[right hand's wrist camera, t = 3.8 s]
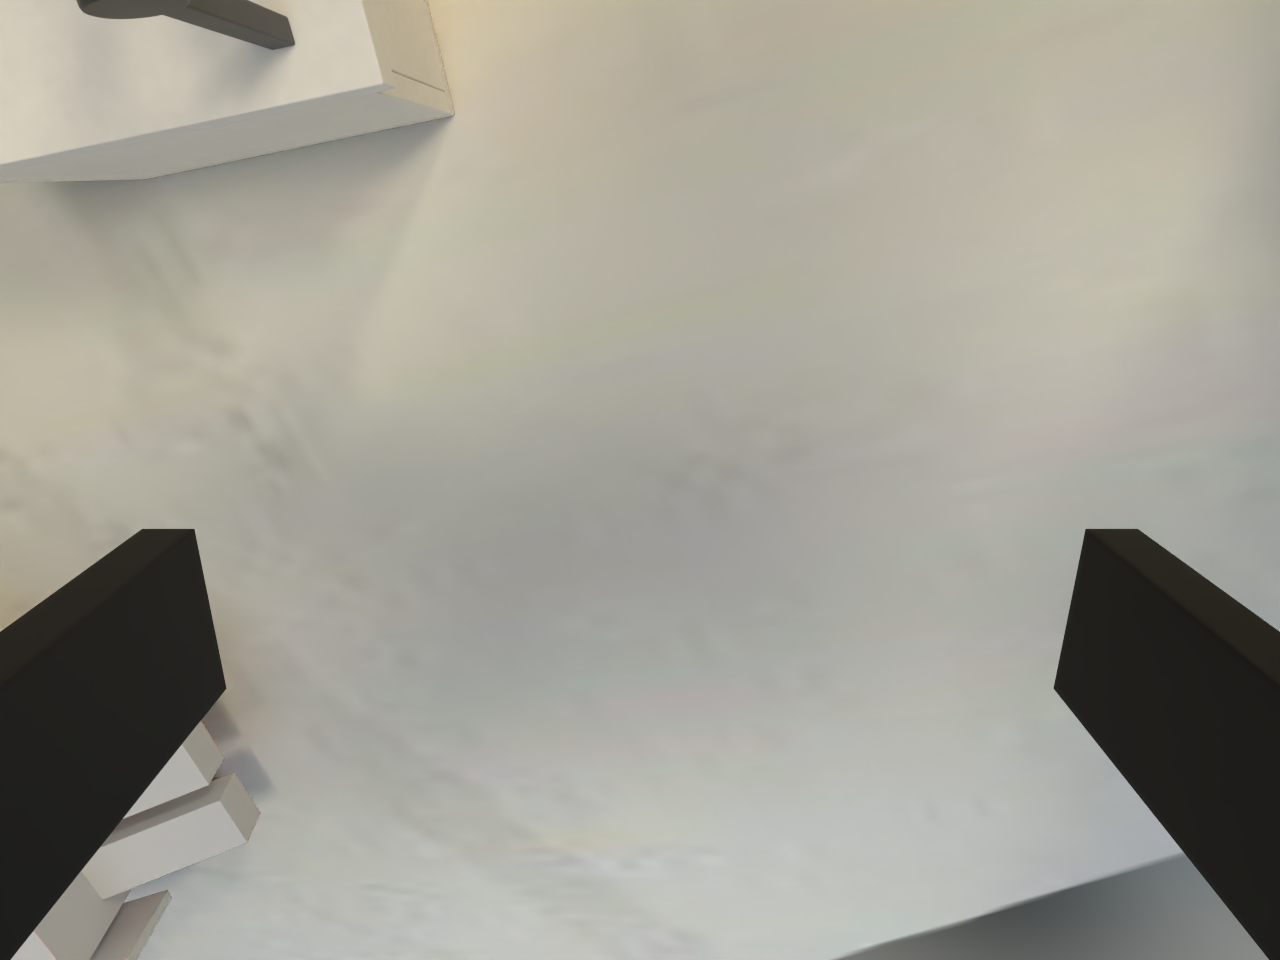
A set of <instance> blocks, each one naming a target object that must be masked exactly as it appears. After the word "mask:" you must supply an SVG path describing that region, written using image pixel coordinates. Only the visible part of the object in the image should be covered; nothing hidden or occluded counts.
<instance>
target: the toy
mask: <svg viewBox="0 0 1280 960" xmlns="http://www.w3.org/2000/svg"><path fill="white" fill-rule="evenodd" d="M223 759H224V755H223V754H222V752H221V751H220V749H219V748H218V746H217V745H216V743H215V742H214V740H213V738H212V737H211V735H210V734H209V732H208V731H207V729H206V728H205V726H204V725H203V723H202V721H200V722H199V723H198V725H197V726H196V727H195V728H194V730H193V731H192V732H191V734H190V735H189V736H188V737H187V739H186V740H185V741H184V742H183V744H182V745H181V746H180V747H179V749H178V750H177V751H176V752H175V754H174V755H173V756H172V757H171V759H170V760H169V761H168V762H167V764H166V765H165V766H164V767H163V769H162V770H161V771H160V772H159V774H158V775H157V776H156V778H155V779H154V780H153V781H152V783H151V784H150V785H149V786H148V788H147V789H146V790H145V791H144V793H143V794H142V795H141V796H140V798H139V799H138V800H137V801H136V803H135V804H134V805H133V806H132V808H131V809H130V810H129V811H128V813H127V814H126V815H125V817H124V818H123V819H122V820H121V822H120V823H119V824H118V825H117V827H116V828H115V829H114V830H113V832H112V833H111V834H110V835H109V837H108V838H107V839H106V840H105V842H104V843H103V844H102V845H101V847H100V848H99V849H98V850H97V852H96V853H95V854H94V856H93V857H92V858H91V859H90V861H89V862H88V863H87V864H86V866H85V867H84V868H83V869H82V871H81V872H80V873H79V874H78V876H77V877H76V878H75V879H74V881H73V882H72V883H71V884H70V886H69V887H68V888H67V889H66V891H65V892H64V893H63V895H62V896H61V897H60V898H59V900H58V901H57V902H56V903H55V905H54V906H53V907H52V908H51V910H50V911H49V912H48V913H47V915H46V916H45V917H44V918H43V920H42V921H41V922H40V923H39V925H38V926H37V927H36V928H35V930H34V931H33V932H32V934H31V935H30V936H29V937H28V939H27V940H26V941H25V942H24V944H23V945H22V946H21V947H20V949H19V950H18V951H17V952H16V954H15V955H14V956H13V957H12V959H11V960H137V958H138V957H139V955H140V953H141V951H142V950H143V948H144V946H145V944H146V943H147V941H148V939H149V937H150V936H151V934H152V932H153V930H154V929H155V927H156V925H157V923H158V922H159V920H160V918H161V917H162V915H163V913H164V911H165V910H166V908H167V906H168V904H169V903H170V901H171V899H172V897H171V895H170V893H169V891H168V890H166V891H162V892H159V893H156V894H152V895H149V896H146V897H143V898H139V899H136V900H133V901H129V902H126V903H123V902H124V901H125V899H126V897H127V896H128V894H129V892H130V891H131V889H132V888H134V887H136V886H139V885H142V884H144V883H147V882H149V881H152V880H154V879H157V878H159V877H162V876H164V875H167V874H169V873H172V872H174V871H177V870H179V869H182V868H184V867H187V866H189V865H192V864H194V863H197V862H199V861H202V860H205V859H207V858H210V857H212V856H215V855H217V854H220V853H222V852H225V851H227V850H230V849H232V848H235V847H237V846H240V845H242V844H245V843H247V842H248V840H249V838H250V836H251V833H252V831H253V829H254V827H255V824H256V822H257V820H258V818H259V815H260V811H259V810H258V808H257V806H256V805H255V803H254V802H253V800H252V799H251V797H250V796H249V794H248V793H247V791H246V789H245V788H244V786H243V785H242V783H241V782H240V780H239V779H238V777H237V776H236V774H235V772H234V773H231V774H229V775H226V776H224V777H221V778H219V779H216V780H214V781H213V780H212V779H213V777H214V775H215V773H216V772H217V770H218V768H219V766H220V765H221V763H222V761H223Z"/></svg>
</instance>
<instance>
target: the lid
mask: <svg viewBox="0 0 1280 960" xmlns="http://www.w3.org/2000/svg"><path fill="white" fill-rule="evenodd" d="M395 87H396V85H395V82H394V78H393V74H392V70H391V66H390V63H389V59H388V55H387V51H386V47H385V43H384V40H383V36H382V32H381V28H380V24H379V21H378V17H377V13H376V9H375V5H374V2H373V0H0V171H5V170H10V169H14V168H19V167H24V166H29V165H33V164H38V163H43V162H48V161H52V160H57V159H62V158H67V157H71V156H76V155H81V154H86V153H90V152H95V151H100V150H105V149H109V148H114V147H119V146H124V145H128V144H133V143H138V142H143V141H147V140H152V139H157V138H162V137H167V136H171V135H176V134H181V133H186V132H190V131H195V130H200V129H205V128H209V127H214V126H219V125H224V124H228V123H233V122H238V121H243V120H247V119H252V118H257V117H262V116H266V115H271V114H276V113H281V112H285V111H290V110H295V109H300V108H304V107H309V106H314V105H319V104H323V103H328V102H333V101H338V100H342V99H347V98H352V97H357V96H361V95H366V94H371V93H376V92H380V91H385V90H390V89H394V88H395Z"/></svg>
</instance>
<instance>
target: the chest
mask: <svg viewBox="0 0 1280 960" xmlns="http://www.w3.org/2000/svg"><path fill="white" fill-rule="evenodd" d="M373 2H374V5H375V9H376V13H377V17H378V21H379V24H380V28H381V32H382V36H383V40H384V43H385V47H386V51H387V55H388V59H389V63H390V66H391V70H392V74H393V78H394V82H395V85H396V87H395V88H394V89H390V90H385V91H380V92H376V93H371V94H366V95H361V96H357V97H352V98H347V99H342V100H338V101H333V102H328V103H323V104H319V105H314V106H309V107H304V108H300V109H295V110H290V111H285V112H281V113H276V114H271V115H266V116H262V117H257V118H252V119H247V120H243V121H238V122H233V123H228V124H224V125H219V126H214V127H209V128H205V129H200V130H195V131H190V132H186V133H181V134H176V135H171V136H167V137H162V138H157V139H152V140H147V141H143V142H138V143H133V144H128V145H124V146H119V147H114V148H109V149H105V150H100V151H95V152H90V153H86V154H81V155H76V156H71V157H67V158H62V159H57V160H52V161H48V162H43V163H38V164H33V165H29V166H24V167H19V168H14V169H10V170H5V171H0V183H5V182H49V181H92V180H135V179H150V178H155V177H160V176H164V175H169V174H174V173H179V172H184V171H188V170H193V169H198V168H203V167H208V166H213V165H217V164H222V163H227V162H232V161H237V160H242V159H246V158H251V157H256V156H261V155H266V154H271V153H275V152H280V151H285V150H290V149H295V148H299V147H304V146H309V145H314V144H319V143H324V142H328V141H333V140H338V139H343V138H348V137H353V136H357V135H362V134H367V133H372V132H377V131H382V130H386V129H391V128H396V127H401V126H406V125H410V124H415V123H420V122H425V121H430V120H435V119H439V118H444V117H449V116H453V115H454V114H455V113H454V109H453V104H452V100H451V96H450V92H449V88H448V84H447V80H446V76H445V71H444V67H443V63H442V59H441V55H440V51H439V47H438V43H437V38H436V34H435V30H434V26H433V22H432V18H431V14H430V10H429V5H428V1H427V0H373Z"/></svg>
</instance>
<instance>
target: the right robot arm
mask: <svg viewBox="0 0 1280 960" xmlns="http://www.w3.org/2000/svg"><path fill="white" fill-rule="evenodd" d="M225 689H226V684H225V680H224V675H223V670H222V665H221V660H220V655H219V650H218V645H217V640H216V635H215V630H214V625H213V620H212V615H211V610H210V605H209V600H208V595H207V590H206V585H205V580H204V575H203V570H202V565H201V560H200V555H199V550H198V545H197V540H196V535H195V530H194V529H142V530H140V531H139V532H137V533H136V534H135V535H133V536H132V537H131V538H129V539H128V540H126V541H125V542H124V543H122V544H121V545H120V546H118V547H117V548H115V549H114V550H113V551H111V552H110V553H109V554H107V555H106V556H104V557H103V558H102V559H100V560H99V561H97V562H96V563H95V564H93V565H92V566H91V567H89V568H88V569H86V570H85V571H84V572H82V573H81V574H80V575H78V576H77V577H75V578H74V579H73V580H71V581H70V582H69V583H67V584H66V585H64V586H63V587H62V588H60V589H59V590H58V591H56V592H55V593H53V594H52V595H51V596H49V597H48V598H46V599H45V600H44V601H42V602H41V603H40V604H38V605H37V606H35V607H34V608H33V609H31V610H30V611H29V612H27V613H26V614H24V615H23V616H22V617H20V618H19V619H18V620H16V621H15V622H13V623H12V624H11V625H9V626H8V627H6V628H5V629H4V630H2V631H1V632H0V960H11V959H12V957H13V956H14V955H15V954H16V952H17V951H18V950H19V949H20V947H21V946H22V945H23V944H24V942H25V941H26V940H27V939H28V937H29V936H30V935H31V934H32V932H33V931H34V930H35V928H36V927H37V926H38V925H39V923H40V922H41V921H42V920H43V918H44V917H45V916H46V915H47V913H48V912H49V911H50V910H51V908H52V907H53V906H54V905H55V903H56V902H57V901H58V900H59V898H60V897H61V896H62V895H63V893H64V892H65V891H66V889H67V888H68V887H69V886H70V884H71V883H72V882H73V881H74V879H75V878H76V877H77V876H78V874H79V873H80V872H81V871H82V869H83V868H84V867H85V866H86V864H87V863H88V862H89V861H90V859H91V858H92V857H93V856H94V854H95V853H96V852H97V850H98V849H99V848H100V847H101V845H102V844H103V843H104V842H105V840H106V839H107V838H108V837H109V835H110V834H111V833H112V832H113V830H114V829H115V828H116V827H117V825H118V824H119V823H120V822H121V820H122V819H123V818H124V817H125V815H126V814H127V813H128V811H129V810H130V809H131V808H132V806H133V805H134V804H135V803H136V801H137V800H138V799H139V798H140V796H141V795H142V794H143V793H144V791H145V790H146V789H147V788H148V786H149V785H150V784H151V783H152V781H153V780H154V779H155V778H156V776H157V775H158V774H159V772H160V771H161V770H162V769H163V767H164V766H165V765H166V764H167V762H168V761H169V760H170V759H171V757H172V756H173V755H174V754H175V752H176V751H177V750H178V749H179V747H180V746H181V745H182V744H183V742H184V741H185V740H186V739H187V737H188V736H189V735H190V734H191V732H192V731H193V730H194V728H195V727H196V726H197V725H198V723H199V722H200V721H201V720H202V718H203V717H204V716H205V715H206V713H207V712H208V711H209V710H210V708H211V707H212V706H213V705H214V703H215V702H216V701H217V700H218V698H219V697H220V696H221V695H222V693H223V692H224V691H225ZM1054 689H1055V691H1056V692H1057V693H1058V695H1059V696H1060V697H1061V698H1062V700H1063V701H1064V702H1065V703H1066V705H1067V706H1068V707H1069V708H1070V710H1071V711H1072V712H1073V713H1074V715H1075V716H1076V717H1077V718H1078V720H1079V721H1080V722H1081V723H1082V725H1083V726H1084V727H1085V728H1086V730H1087V731H1088V732H1089V734H1090V735H1091V736H1092V737H1093V739H1094V740H1095V741H1096V742H1097V744H1098V745H1099V746H1100V747H1101V749H1102V750H1103V751H1104V752H1105V754H1106V755H1107V756H1108V757H1109V759H1110V760H1111V761H1112V762H1113V764H1114V765H1115V766H1116V767H1117V769H1118V770H1119V771H1120V772H1121V774H1122V775H1123V776H1124V778H1125V779H1126V780H1127V781H1128V783H1129V784H1130V785H1131V786H1132V788H1133V789H1134V790H1135V791H1136V793H1137V794H1138V795H1139V796H1140V798H1141V799H1142V800H1143V801H1144V803H1145V804H1146V805H1147V806H1148V808H1149V809H1150V810H1151V811H1152V813H1153V814H1154V815H1155V817H1156V818H1157V819H1158V820H1159V822H1160V823H1161V824H1162V825H1163V827H1164V828H1165V829H1166V830H1167V832H1168V833H1169V834H1170V835H1171V837H1172V838H1173V839H1174V840H1175V842H1176V843H1177V844H1178V845H1179V847H1180V848H1181V849H1182V850H1183V852H1184V853H1185V854H1186V856H1187V857H1188V858H1189V859H1190V860H1191V862H1192V863H1193V864H1194V866H1195V867H1196V868H1197V869H1198V871H1199V872H1200V873H1201V874H1202V876H1203V877H1204V878H1205V879H1206V881H1207V882H1208V883H1209V884H1210V886H1211V887H1212V888H1213V889H1214V891H1215V892H1216V893H1217V895H1218V896H1219V897H1220V898H1221V900H1222V901H1223V902H1224V903H1225V905H1226V906H1227V907H1228V908H1229V910H1230V911H1231V912H1232V913H1233V915H1234V916H1235V917H1236V918H1237V920H1238V921H1239V922H1240V923H1241V925H1242V926H1243V927H1244V928H1245V930H1246V931H1247V932H1248V933H1249V935H1250V936H1251V937H1252V939H1253V940H1254V941H1255V942H1256V944H1257V945H1258V946H1259V947H1260V949H1261V950H1262V951H1263V952H1264V954H1265V955H1266V956H1267V957H1268V959H1269V960H1280V632H1279V631H1278V630H1276V629H1275V628H1274V627H1272V626H1271V625H1269V624H1268V623H1267V622H1265V621H1264V620H1262V619H1261V618H1260V617H1258V616H1257V615H1256V614H1254V613H1253V612H1251V611H1250V610H1249V609H1247V608H1246V607H1245V606H1243V605H1242V604H1240V603H1239V602H1238V601H1236V600H1235V599H1234V598H1232V597H1231V596H1229V595H1228V594H1227V593H1225V592H1224V591H1222V590H1221V589H1220V588H1218V587H1217V586H1216V585H1214V584H1213V583H1211V582H1210V581H1209V580H1207V579H1206V578H1205V577H1203V576H1202V575H1200V574H1199V573H1198V572H1196V571H1195V570H1194V569H1192V568H1191V567H1189V566H1188V565H1187V564H1185V563H1184V562H1183V561H1181V560H1180V559H1178V558H1177V557H1176V556H1174V555H1173V554H1171V553H1170V552H1169V551H1167V550H1166V549H1165V548H1163V547H1162V546H1160V545H1159V544H1158V543H1156V542H1155V541H1154V540H1152V539H1151V538H1149V537H1148V536H1147V535H1145V534H1144V533H1143V532H1141V531H1140V530H1138V529H1086V530H1085V535H1084V540H1083V545H1082V550H1081V555H1080V560H1079V565H1078V570H1077V575H1076V580H1075V585H1074V590H1073V595H1072V600H1071V605H1070V610H1069V615H1068V620H1067V625H1066V630H1065V635H1064V640H1063V645H1062V650H1061V655H1060V660H1059V665H1058V670H1057V675H1056V679H1055V684H1054Z"/></svg>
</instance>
